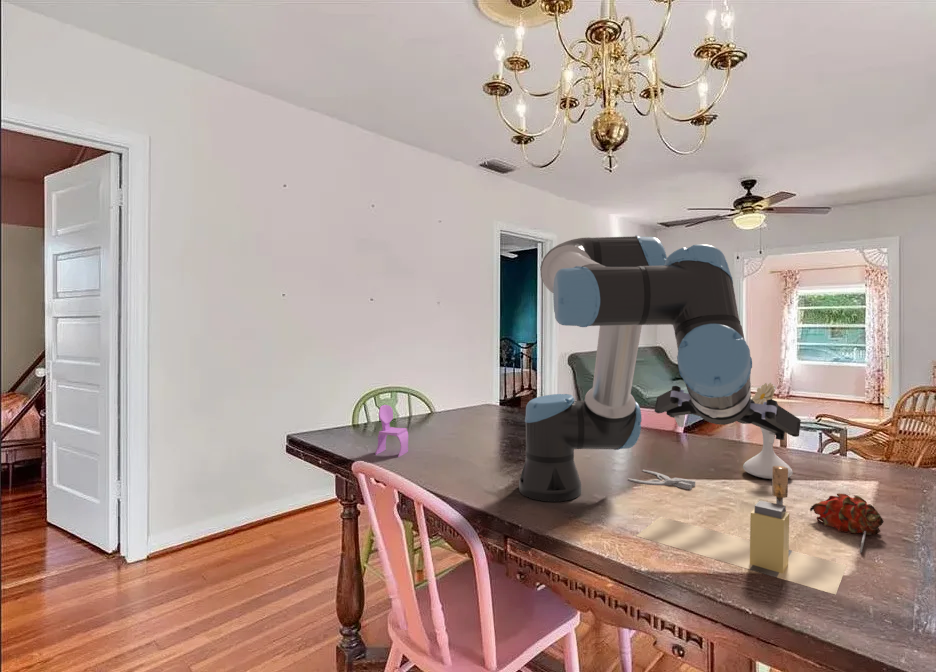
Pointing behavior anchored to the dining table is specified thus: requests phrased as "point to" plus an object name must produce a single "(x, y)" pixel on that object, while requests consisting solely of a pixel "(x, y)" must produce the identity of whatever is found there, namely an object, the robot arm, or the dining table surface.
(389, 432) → the toy chair
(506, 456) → the dining table surface
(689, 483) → the pliers
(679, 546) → the plank
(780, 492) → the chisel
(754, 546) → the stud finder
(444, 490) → the dining table surface
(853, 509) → the dragon fruit
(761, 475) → the flower in vase
